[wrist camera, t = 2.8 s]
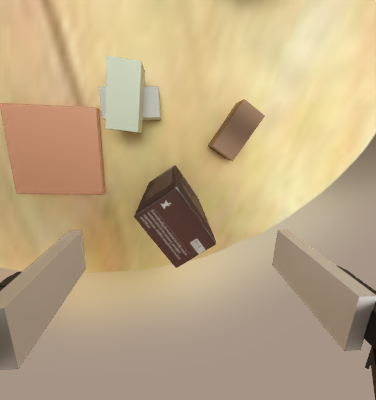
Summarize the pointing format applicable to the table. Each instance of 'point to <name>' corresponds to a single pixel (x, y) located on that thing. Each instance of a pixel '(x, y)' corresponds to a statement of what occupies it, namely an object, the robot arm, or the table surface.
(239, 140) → the walnut brick
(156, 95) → the grey brick
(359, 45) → the table surface
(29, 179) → the tile
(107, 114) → the pale green brick
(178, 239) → the box
